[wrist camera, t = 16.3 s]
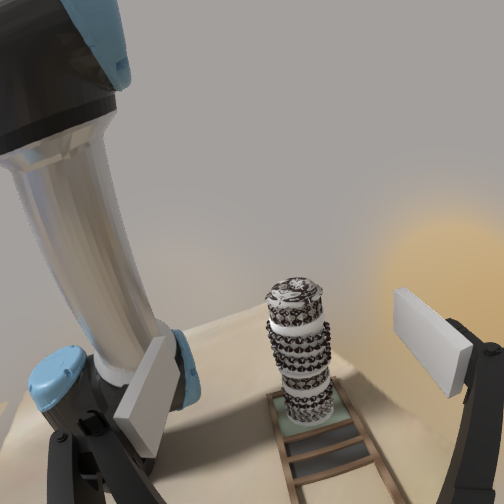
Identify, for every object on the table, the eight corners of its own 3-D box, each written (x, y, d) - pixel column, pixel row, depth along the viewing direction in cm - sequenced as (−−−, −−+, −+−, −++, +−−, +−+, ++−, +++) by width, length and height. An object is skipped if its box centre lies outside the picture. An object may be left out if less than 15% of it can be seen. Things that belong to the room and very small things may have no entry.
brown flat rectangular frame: (410, 517, 20) (411, 514, 20) (303, 554, 19) (303, 553, 19) (335, 379, 53) (335, 375, 53) (267, 397, 52) (266, 394, 52)
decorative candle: (275, 407, 49) (247, 286, 42) (317, 386, 52) (302, 267, 46) (300, 436, 40) (277, 307, 34) (346, 411, 44) (338, 281, 37)
